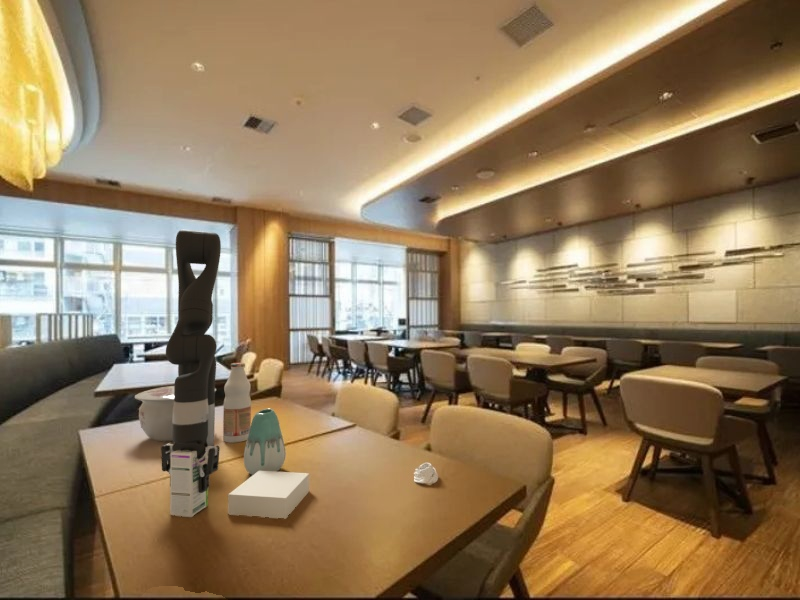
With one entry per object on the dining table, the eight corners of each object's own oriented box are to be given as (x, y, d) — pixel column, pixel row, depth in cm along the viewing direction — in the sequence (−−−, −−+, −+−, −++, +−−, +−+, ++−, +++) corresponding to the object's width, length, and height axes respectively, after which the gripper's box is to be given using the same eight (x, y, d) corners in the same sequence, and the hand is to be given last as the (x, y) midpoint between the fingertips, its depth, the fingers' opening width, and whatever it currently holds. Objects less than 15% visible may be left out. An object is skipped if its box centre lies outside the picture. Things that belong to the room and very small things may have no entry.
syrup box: (191, 518, 89) (192, 453, 89) (168, 515, 90) (170, 451, 90) (208, 506, 94) (209, 444, 95) (187, 503, 96) (188, 443, 96)
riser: (228, 516, 90) (228, 494, 90) (258, 489, 104) (258, 470, 104) (285, 520, 88) (285, 498, 88) (309, 492, 102) (309, 473, 102)
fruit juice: (220, 444, 140) (221, 365, 141) (226, 436, 149) (227, 362, 150) (248, 442, 142) (249, 364, 143) (252, 434, 151) (253, 361, 152)
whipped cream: (433, 491, 104) (434, 473, 104) (409, 486, 106) (410, 468, 106) (439, 477, 112) (441, 460, 111) (417, 472, 114) (418, 456, 113)
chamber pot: (157, 453, 131) (158, 390, 132) (118, 440, 145) (120, 383, 146) (232, 432, 155) (232, 379, 155) (192, 422, 169) (193, 374, 170)
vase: (245, 483, 107) (246, 417, 108) (241, 469, 117) (242, 408, 118) (289, 475, 112) (289, 412, 113) (281, 462, 123) (281, 404, 123)
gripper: (151, 421, 90) (150, 495, 90) (207, 424, 88) (206, 500, 87) (175, 413, 98) (174, 481, 97) (227, 416, 95) (226, 485, 95)
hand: (189, 490), depth 92 cm, fingers open, 6 cm apart
